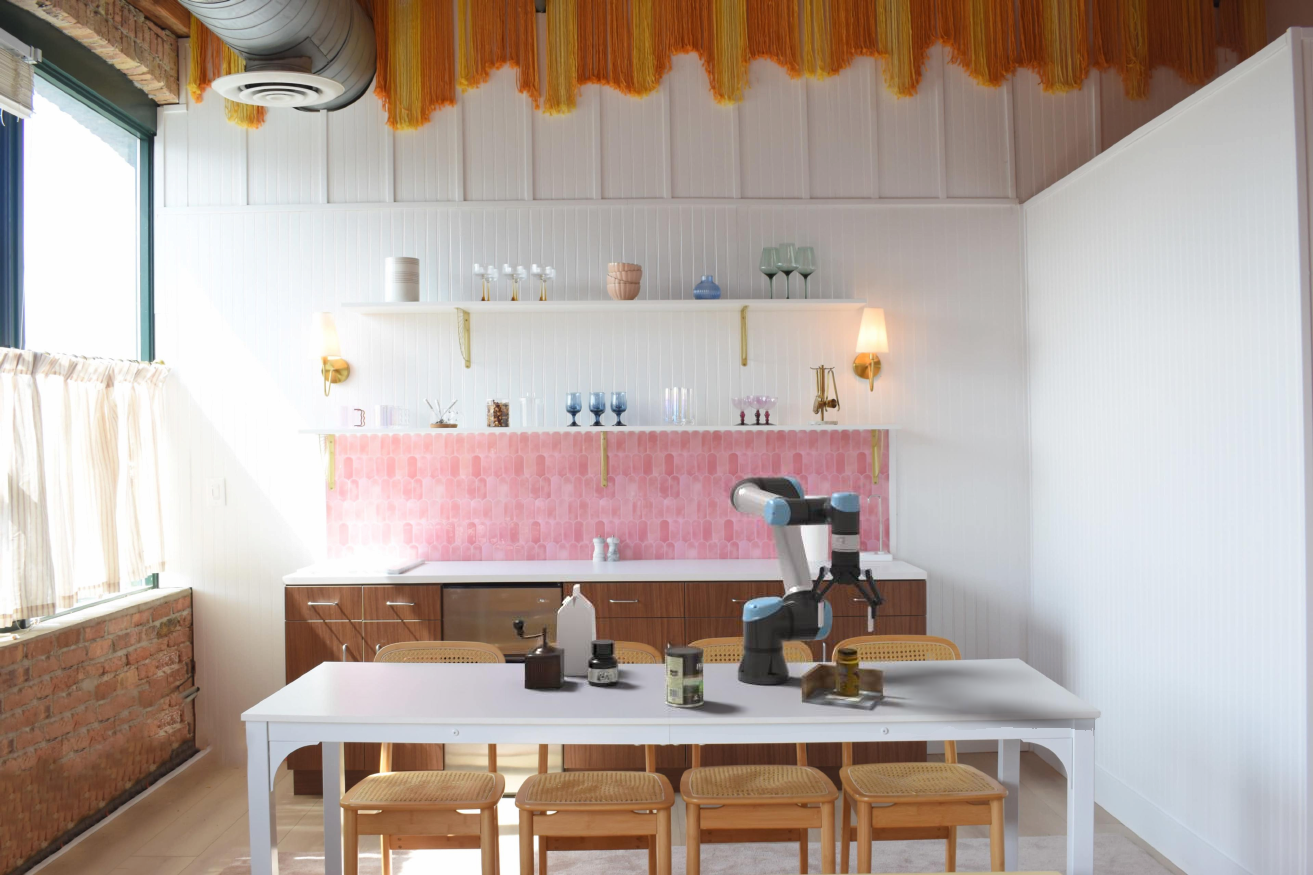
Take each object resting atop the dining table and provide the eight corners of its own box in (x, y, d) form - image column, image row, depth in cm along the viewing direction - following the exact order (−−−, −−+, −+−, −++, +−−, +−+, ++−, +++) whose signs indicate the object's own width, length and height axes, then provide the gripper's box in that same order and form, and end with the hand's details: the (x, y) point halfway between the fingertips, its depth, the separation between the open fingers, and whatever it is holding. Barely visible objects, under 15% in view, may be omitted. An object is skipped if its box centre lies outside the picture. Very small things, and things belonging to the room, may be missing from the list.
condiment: (866, 695, 247) (865, 650, 247) (841, 699, 243) (841, 654, 243) (847, 689, 253) (847, 645, 253) (823, 693, 249) (823, 649, 249)
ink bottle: (585, 687, 262) (585, 644, 262) (587, 679, 271) (587, 638, 271) (619, 687, 262) (619, 644, 262) (620, 679, 271) (620, 638, 271)
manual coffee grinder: (565, 679, 271) (565, 618, 271) (560, 689, 260) (560, 625, 260) (513, 679, 272) (513, 618, 272) (505, 688, 261) (505, 624, 261)
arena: (801, 702, 245) (801, 675, 245) (819, 688, 259) (818, 663, 259) (869, 710, 237) (869, 682, 237) (883, 695, 251) (882, 669, 251)
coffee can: (705, 698, 249) (705, 646, 249) (701, 708, 239) (700, 654, 239) (668, 696, 251) (668, 644, 251) (662, 706, 241) (661, 652, 241)
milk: (593, 675, 276) (593, 588, 276) (555, 675, 276) (555, 588, 277) (597, 666, 288) (597, 583, 288) (560, 666, 288) (560, 583, 289)
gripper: (796, 548, 251) (796, 626, 251) (888, 553, 240) (889, 635, 239) (804, 546, 257) (805, 622, 257) (895, 550, 246) (895, 630, 246)
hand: (845, 628), depth 248 cm, fingers open, 13 cm apart
